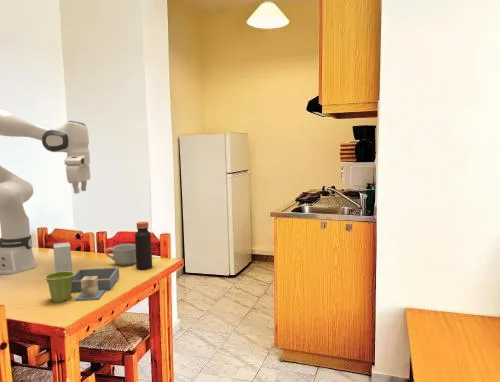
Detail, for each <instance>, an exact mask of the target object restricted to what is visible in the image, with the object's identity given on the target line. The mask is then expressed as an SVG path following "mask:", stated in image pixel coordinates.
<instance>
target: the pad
mask: <svg viewBox="0 0 500 382" xmlns="http://www.w3.org/2000/svg"><path fill="white" fill-rule="evenodd" d="M98 291H99V292H98V293H97V295H96V296H93V297H82V292H79V294H78V295H77V296H76V298H75V300H74V301H75V302H76V301H78V302H79V301H96V300H97V301H98V300H100V299H101V298H102V296H104V294H105V290H98Z"/></svg>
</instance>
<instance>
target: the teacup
mask: <svg viewBox="0 0 500 382" xmlns="http://www.w3.org/2000/svg"><path fill="white" fill-rule="evenodd" d="M109 251H111V253H112V254H113V255H111V254H110V253H108V252H109ZM104 253H105V255H106V257H107V258H110V259H112V261H114V263H116V264H117V265H118V266H123V267H124V266H131V265H133V264H134V263H136V248H135V243H133V244H132V243H121V244H117V245H114V246H113V247H107V248H106V249H105V252H104Z"/></svg>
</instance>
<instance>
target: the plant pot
mask: <svg viewBox="0 0 500 382" xmlns="http://www.w3.org/2000/svg"><path fill="white" fill-rule="evenodd" d="M74 274H75V272H73V271H72V272H70V271H62V272H55V271H54V272H50V273H49V274H46V275H45V276H44V279H45V280H46V282H47V284H48V289H49V294H50V298H51V301H53V302H56V303H57V302H58V303H60V302H61V303H62V302H64V301H68V300H70V299H71V298H72V292H71V289H72V279H73V276H74Z"/></svg>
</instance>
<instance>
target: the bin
mask: <svg viewBox="0 0 500 382" xmlns="http://www.w3.org/2000/svg"><path fill="white" fill-rule="evenodd" d="M85 276H98V290H105V291H112V289H113V287H115V284H116V283H117V281H118V280H119V279H120V268H119V267H107V268H106V267H104V268H101V267H100V268H83V269H82V268H81V269H78V270H77V271H76V272H74V276H73V279H72V289H71V293H81V292H82V289H81V280H82V279H83V278H84V277H85Z"/></svg>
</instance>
